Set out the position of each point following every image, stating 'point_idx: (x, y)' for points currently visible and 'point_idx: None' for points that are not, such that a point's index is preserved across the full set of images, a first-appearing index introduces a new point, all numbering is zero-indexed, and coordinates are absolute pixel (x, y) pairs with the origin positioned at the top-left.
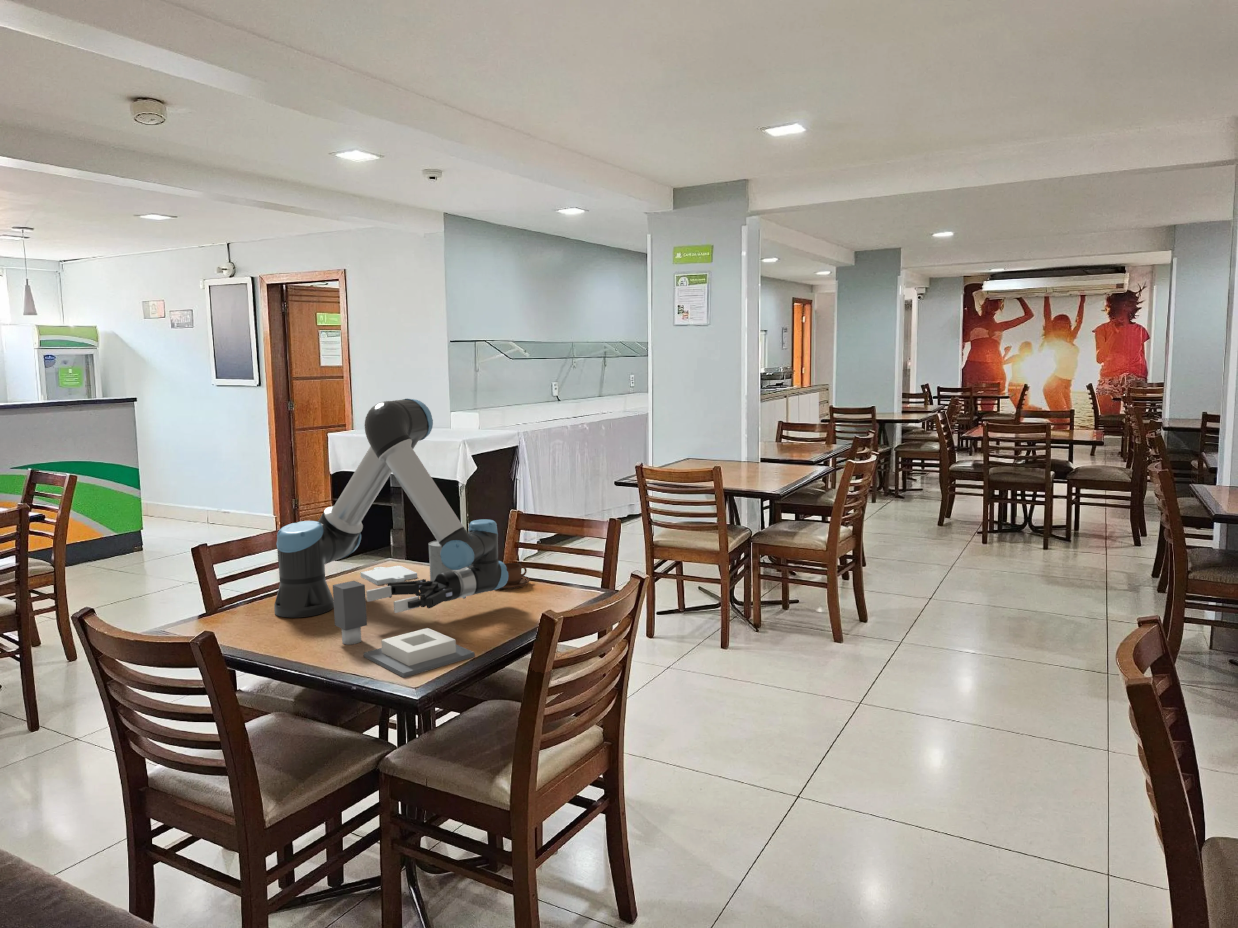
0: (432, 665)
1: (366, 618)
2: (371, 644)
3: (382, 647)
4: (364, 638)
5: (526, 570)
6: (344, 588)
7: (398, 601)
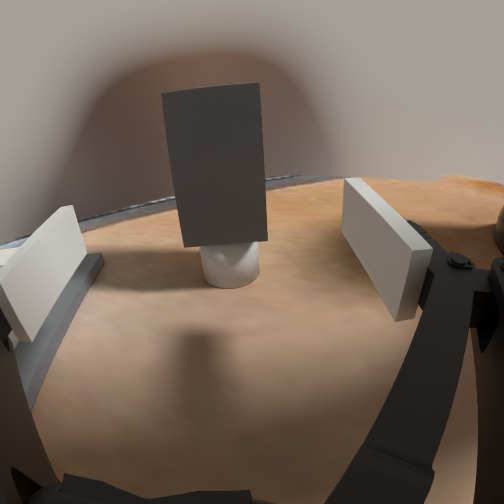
0: None
1: (180, 224)
2: (159, 294)
3: None
4: (229, 297)
5: None
6: (183, 89)
7: (52, 216)
